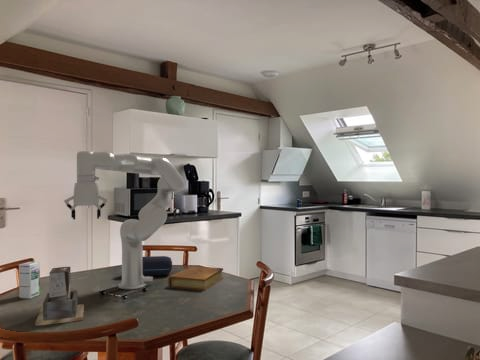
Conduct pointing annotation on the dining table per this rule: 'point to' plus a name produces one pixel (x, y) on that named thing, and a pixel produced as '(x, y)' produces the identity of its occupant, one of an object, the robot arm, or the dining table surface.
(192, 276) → the diary
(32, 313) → the dining table surface
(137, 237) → the robot arm
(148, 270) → the portable speaker
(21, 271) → the syrup box
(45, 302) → the frame
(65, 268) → the coffee box
